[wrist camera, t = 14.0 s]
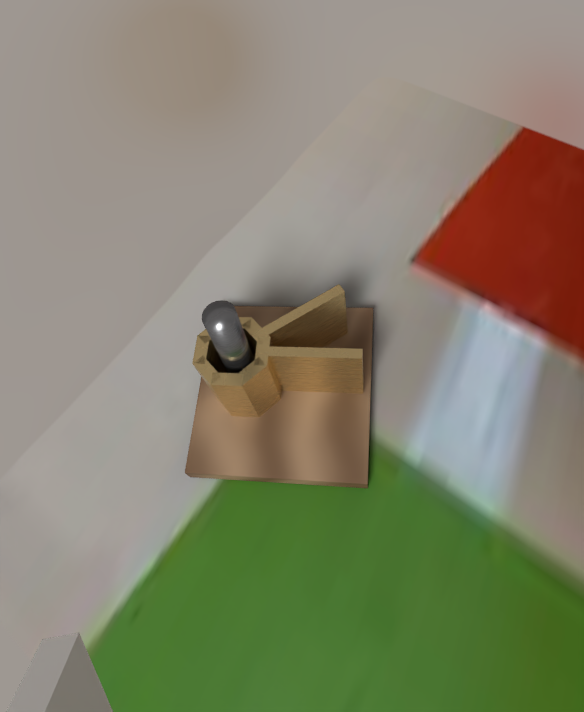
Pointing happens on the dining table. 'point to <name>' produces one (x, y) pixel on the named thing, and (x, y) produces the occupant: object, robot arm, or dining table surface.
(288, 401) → the walnut board
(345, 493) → the dining table surface
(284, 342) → the brass hinge
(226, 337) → the hinge pin
